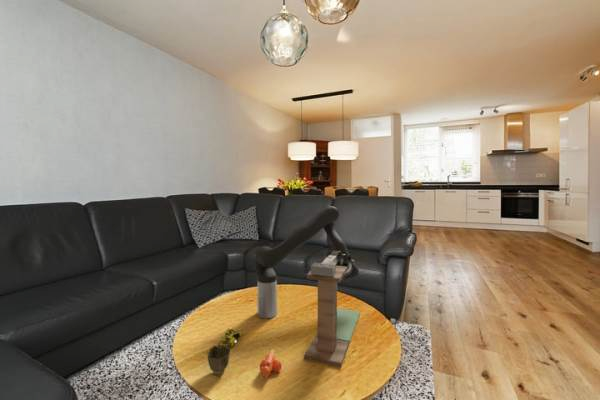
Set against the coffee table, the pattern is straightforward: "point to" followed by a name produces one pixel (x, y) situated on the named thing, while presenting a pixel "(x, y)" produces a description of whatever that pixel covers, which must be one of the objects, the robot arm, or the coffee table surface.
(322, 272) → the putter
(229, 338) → the toy motorcycle
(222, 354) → the cup
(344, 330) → the mat
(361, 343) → the coffee table surface
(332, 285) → the stand
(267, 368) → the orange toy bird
